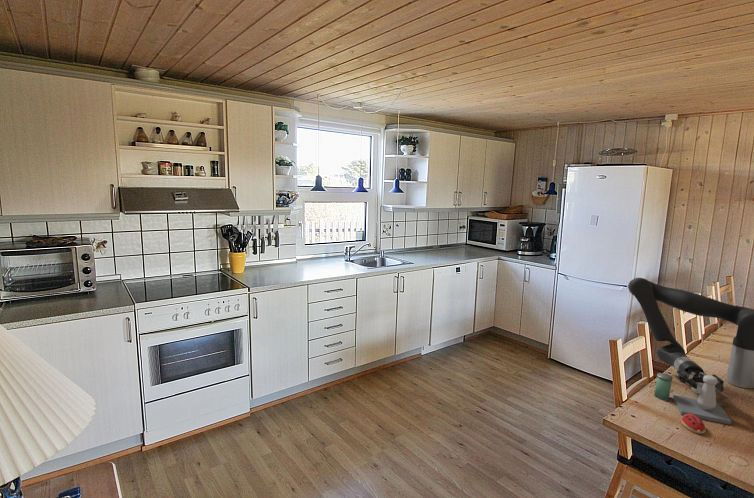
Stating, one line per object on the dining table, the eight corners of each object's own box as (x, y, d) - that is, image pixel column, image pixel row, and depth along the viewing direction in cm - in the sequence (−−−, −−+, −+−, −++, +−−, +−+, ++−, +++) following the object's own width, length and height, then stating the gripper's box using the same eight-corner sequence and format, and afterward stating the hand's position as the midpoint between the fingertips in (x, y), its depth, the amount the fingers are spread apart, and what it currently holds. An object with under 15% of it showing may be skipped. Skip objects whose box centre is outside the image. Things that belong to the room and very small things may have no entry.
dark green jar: (667, 395, 171) (670, 374, 170) (670, 401, 167) (673, 380, 165) (652, 392, 173) (655, 371, 172) (655, 398, 169) (658, 377, 167)
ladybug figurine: (696, 421, 154) (698, 412, 153) (710, 437, 144) (712, 427, 144) (676, 418, 155) (677, 409, 155) (688, 433, 146) (690, 424, 145)
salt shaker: (711, 405, 161) (716, 374, 159) (717, 413, 156) (723, 381, 153) (693, 402, 163) (698, 372, 160) (699, 410, 158) (704, 379, 155)
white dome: (709, 389, 177) (710, 380, 176) (714, 397, 170) (716, 388, 170) (689, 385, 179) (690, 377, 179) (693, 393, 173) (695, 384, 172)
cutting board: (718, 406, 163) (719, 403, 163) (730, 424, 151) (731, 421, 151) (672, 398, 169) (673, 394, 169) (681, 414, 157) (681, 411, 157)
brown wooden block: (717, 399, 169) (719, 390, 168) (727, 406, 164) (729, 396, 163) (705, 399, 169) (707, 390, 168) (715, 406, 164) (716, 396, 163)
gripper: (670, 358, 174) (689, 376, 159) (709, 362, 171) (732, 381, 155) (667, 375, 175) (686, 394, 160) (706, 379, 172) (729, 399, 157)
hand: (709, 388), depth 158 cm, fingers open, 8 cm apart
